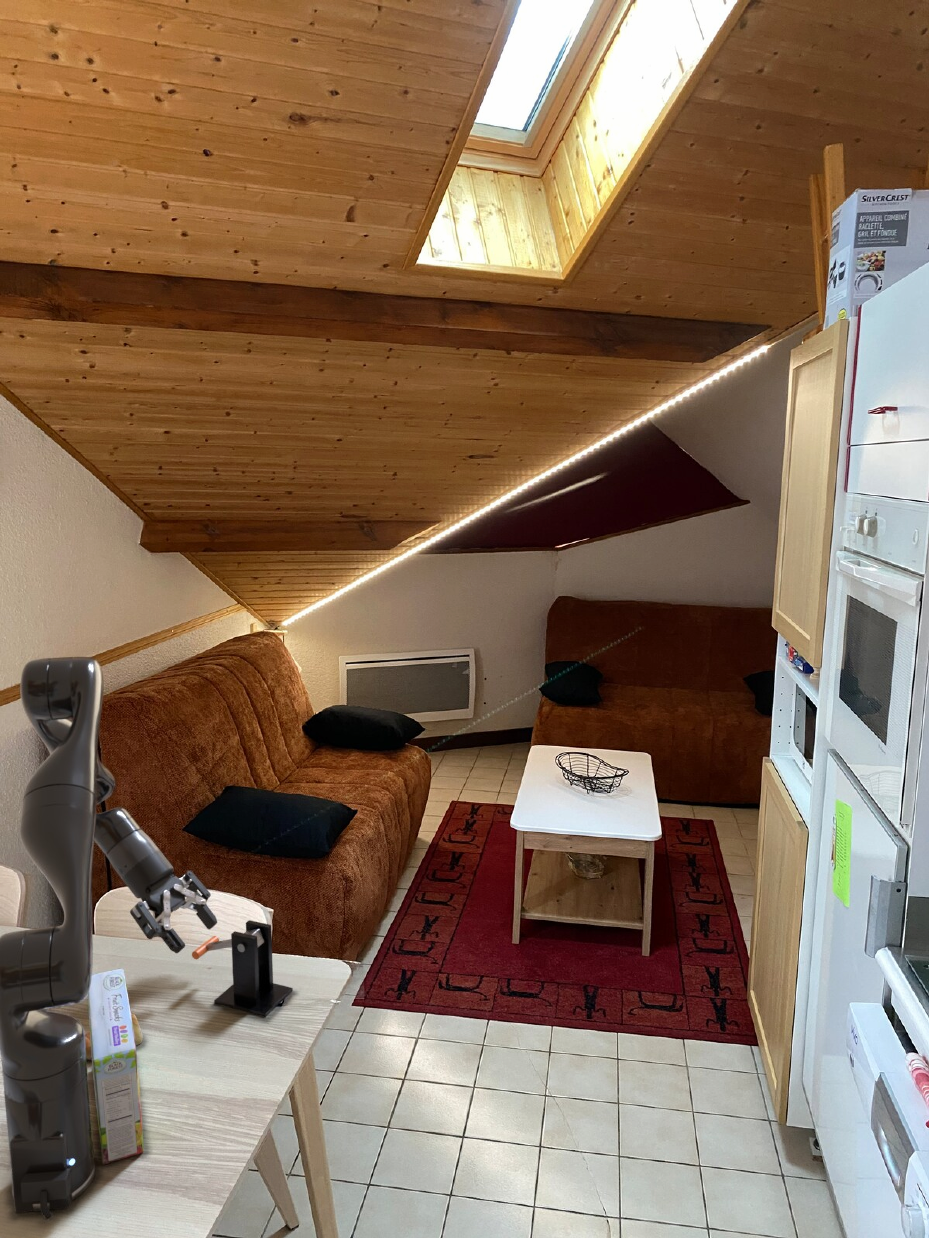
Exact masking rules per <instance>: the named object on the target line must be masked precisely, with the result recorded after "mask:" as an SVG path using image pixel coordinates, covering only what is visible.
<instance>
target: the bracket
mask: <svg viewBox="0 0 929 1238" xmlns="http://www.w3.org/2000/svg"><path fill="white" fill-rule="evenodd" d="M254 929H260V931H261V934H262V937H263V939H264V943H262V944H261V945H260V946H259V947H258V943H257V936H254V935H249V934H245V932H246V931H249V930H254ZM245 932H240V931H233V932H231V933H230V936H231V937H230V939H231V942H232V947H231V961H232V962H231V964H232V984H231V985H230V986H229V987H228V988H227V989H226V990H225V991H223V992H221V994H219V996H217V998H215V999H214V1001H213V1003H214V1005H218V1006H222V1007H224V1008H229V1009H233V1010H237V1011H241V1012H244V1013H248V1014H252V1015H256V1016H259V1017H263V1018H266V1017H268V1016H269V1015H270V1014H271V1013H272V1012H273V1010H276V1008H277V1007H278V1006H279V1005H280V1004H281V1003H282V1002H284V1001H285V999H286V998H287V997H288V996H289V995H290V994H291V993H292V992H294V990H293V987H290V986H287V985H283V984H279V983H275V982H274V970H273V965H274V964H273V943H272V942H273V941H272V938H273V937H272V935H273V934H272V925H271V924H268V923H264V922H260V921H255V920H250V919H248V920H247V921H246V922H245Z"/></svg>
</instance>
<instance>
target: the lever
mask: <svg viewBox="0 0 929 1238" xmlns="http://www.w3.org/2000/svg"><path fill="white" fill-rule="evenodd" d="M244 933H245V934H249V935H254V936H257V943H258V947H259V946H260V945H261V944H262V943H264V939H263V937H262V934H261V931H260V929H254V930H249V931H246V930H245V932H244ZM228 948H232V942H231V938H230V939H223V940H220V938H219V937H218V936H216V935H214V936H212V937H210V938H209V939H208V940H207V941H205V942H204V943H203V944H201V945H200V946H198V947H197V948H196V949H194V950H193V951H192V952H191V957H192V958H193V959H194V960H199V959H200V958H202V956H204V955H205V954H207V953H208V952H210V951H211V952H212V951H217V950H221V949H222V950H223V949H228Z"/></svg>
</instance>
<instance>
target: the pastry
mask: <svg viewBox="0 0 929 1238" xmlns="http://www.w3.org/2000/svg"><path fill="white" fill-rule="evenodd" d="M131 1018H132V1024H133V1031H134V1038H135V1046H139V1045H140V1044H142V1042H143V1041H144V1036H143V1032H142V1029H141V1027H140V1024H139V1020H138V1018H137V1016H136V1014H134V1013H132V1012H131ZM85 1045H86V1046H85V1047H86V1060H89V1061H92V1056H91V1041H90V1030H89V1031H88V1032H87V1033H85Z"/></svg>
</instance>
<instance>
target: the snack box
mask: <svg viewBox="0 0 929 1238" xmlns="http://www.w3.org/2000/svg"><path fill="white" fill-rule="evenodd" d="M126 983H127V981H126V976H125V971H124V968H123V967H121V968H117V969H113V970H109V971H103V972H98V973H94V974H93V973H92V980H91V985H90V989H89V992H88V995H87V1004H88V1019H89V1020H88V1024H89V1031H90V1041H91V1056H92V1059H91V1067H92V1079H93V1087H94V1099H95V1107H96V1116H97V1125H98V1134H99V1142H100V1143H99V1144H100V1150H101V1162H102V1165H106V1164H110V1163H112V1162H113V1163H114V1162H116V1161H120V1160H123V1159H126V1158H129V1157H133V1156H136V1155H139V1154H142V1153H144V1151H145V1150H144V1136H143V1135H144V1134H143V1119H142V1106H141V1105H142V1104H141V1092H140V1079H139V1065H138V1055H137V1047H136V1046H137V1045H136V1046H135V1038H134V1031H133V1024H132V1018H131V1013H132V1012H131V1006H130V1000H129V995H128V988H127V984H126Z"/></svg>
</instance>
